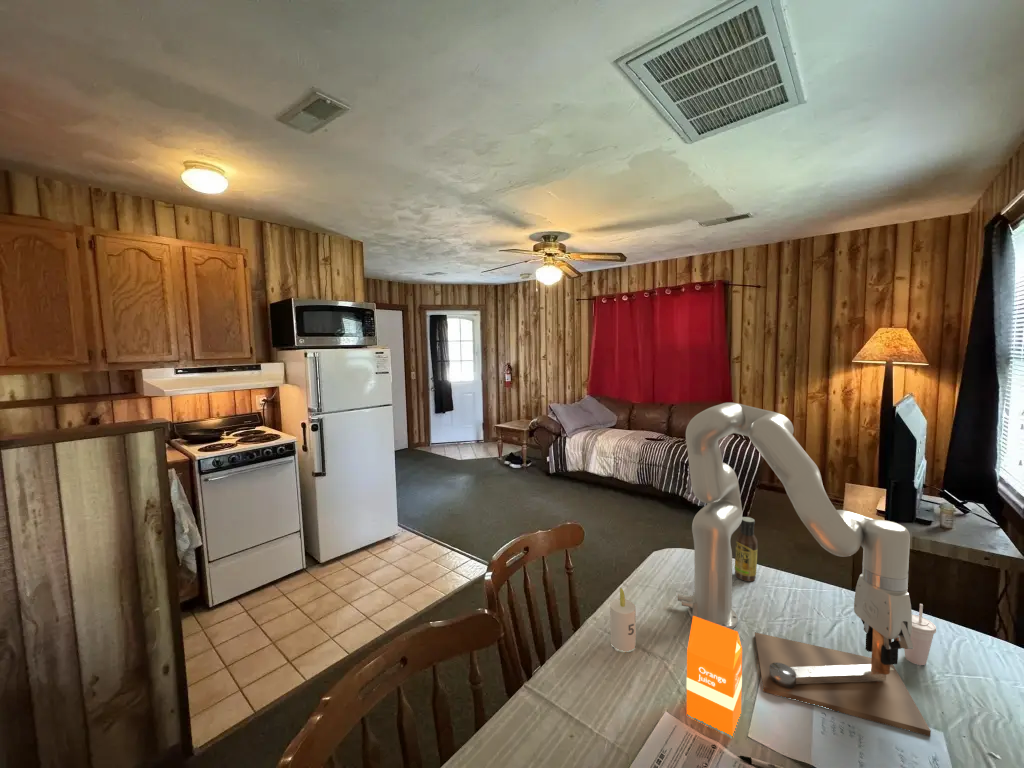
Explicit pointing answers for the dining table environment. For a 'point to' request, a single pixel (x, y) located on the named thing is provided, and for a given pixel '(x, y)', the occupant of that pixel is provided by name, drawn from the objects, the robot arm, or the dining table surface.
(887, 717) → the lever base
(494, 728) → the dining table surface
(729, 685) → the orange juice
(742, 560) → the sauce bottle
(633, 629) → the candle
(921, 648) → the smoothie
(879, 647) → the lever
